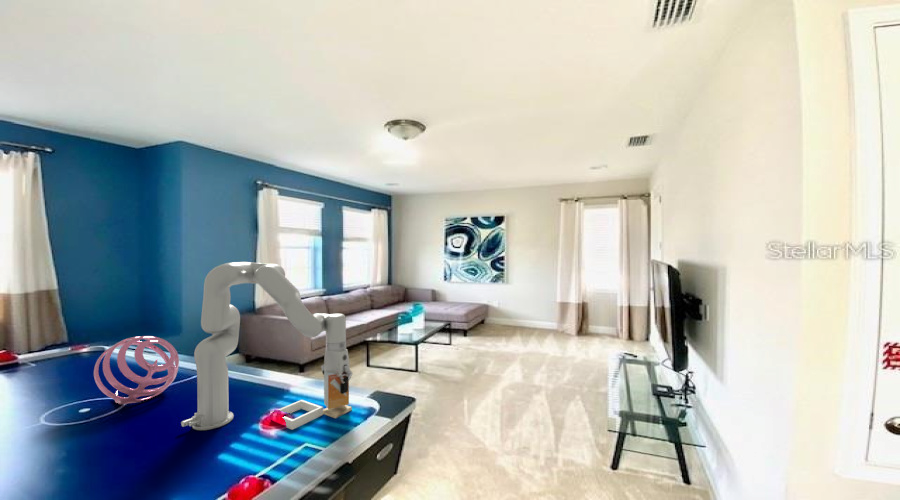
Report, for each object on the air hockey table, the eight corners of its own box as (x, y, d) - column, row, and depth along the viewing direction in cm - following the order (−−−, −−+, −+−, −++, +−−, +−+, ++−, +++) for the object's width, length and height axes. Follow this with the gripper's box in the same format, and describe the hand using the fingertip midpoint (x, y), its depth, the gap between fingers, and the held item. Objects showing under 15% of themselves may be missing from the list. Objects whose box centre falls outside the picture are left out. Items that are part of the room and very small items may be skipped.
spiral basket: (74, 357, 146) (115, 322, 141) (150, 354, 171) (187, 325, 166) (76, 422, 134) (121, 387, 130) (158, 410, 160) (197, 380, 155)
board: (335, 418, 130) (335, 415, 130) (321, 413, 134) (321, 410, 134) (351, 409, 137) (351, 406, 137) (338, 405, 141) (337, 402, 141)
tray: (292, 429, 122) (292, 421, 122) (270, 420, 129) (270, 412, 129) (323, 414, 133) (322, 406, 133) (301, 407, 140) (301, 399, 140)
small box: (328, 410, 131) (327, 375, 131) (323, 403, 136) (323, 370, 136) (349, 404, 135) (349, 371, 135) (344, 398, 141) (344, 366, 141)
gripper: (359, 346, 134) (359, 391, 134) (329, 340, 144) (329, 382, 143) (343, 351, 128) (344, 398, 128) (313, 345, 137) (313, 389, 137)
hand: (336, 390), depth 136 cm, fingers closed on small box, 8 cm apart
